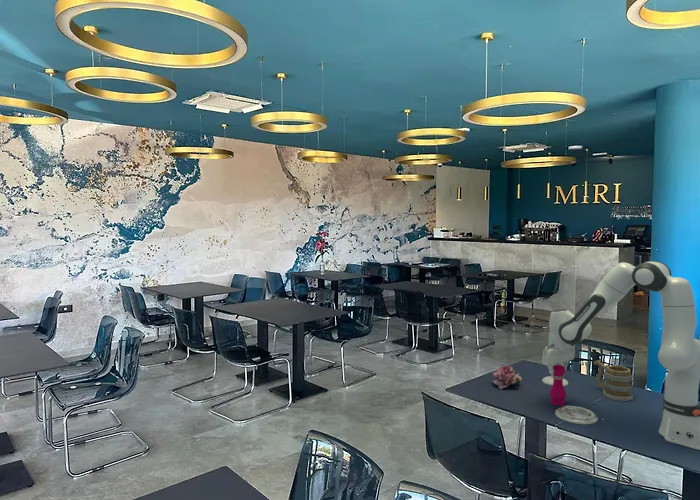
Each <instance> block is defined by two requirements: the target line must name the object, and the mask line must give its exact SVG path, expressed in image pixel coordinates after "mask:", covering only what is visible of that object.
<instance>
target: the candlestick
mask: <svg viewBox="0 0 700 500" xmlns="http://www.w3.org/2000/svg"><path fill="white" fill-rule="evenodd" d="M555 365H557V364H555ZM553 366H554V365H553ZM541 382H542V383H543V384H545V385H549V386H551V387H552V385H553V382H554V379H553V374H551V375H548V376H545V377H543V378H542V379H541ZM568 385H569V381H568V380H567V379H565V378H564V379H563V387H566V386H568Z"/></svg>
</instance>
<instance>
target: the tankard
mask: <svg viewBox="0 0 700 500" xmlns="http://www.w3.org/2000/svg"><path fill="white" fill-rule="evenodd" d="M593 364H594V365H595V366H598V372H597V376H596V381H597V382H596V383H597V384H598V386H599V387H600V388H602V395H603V396H604V397H605V398H608V399H610V400H612V401H620V402H629V401H633V400H634V396H633V393H632V390H633V386H632V383H631V382H632V381H633V375H632V371H631V369H630V367H629V368H628V367H625V366H623V365H616V364H615V365H605V364H604V363H602V361H600V360H598V359H597V360H595V361H593ZM604 370H605V371H604ZM603 375H604V376H605V380H604V383H603V379H602V377H603Z"/></svg>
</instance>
